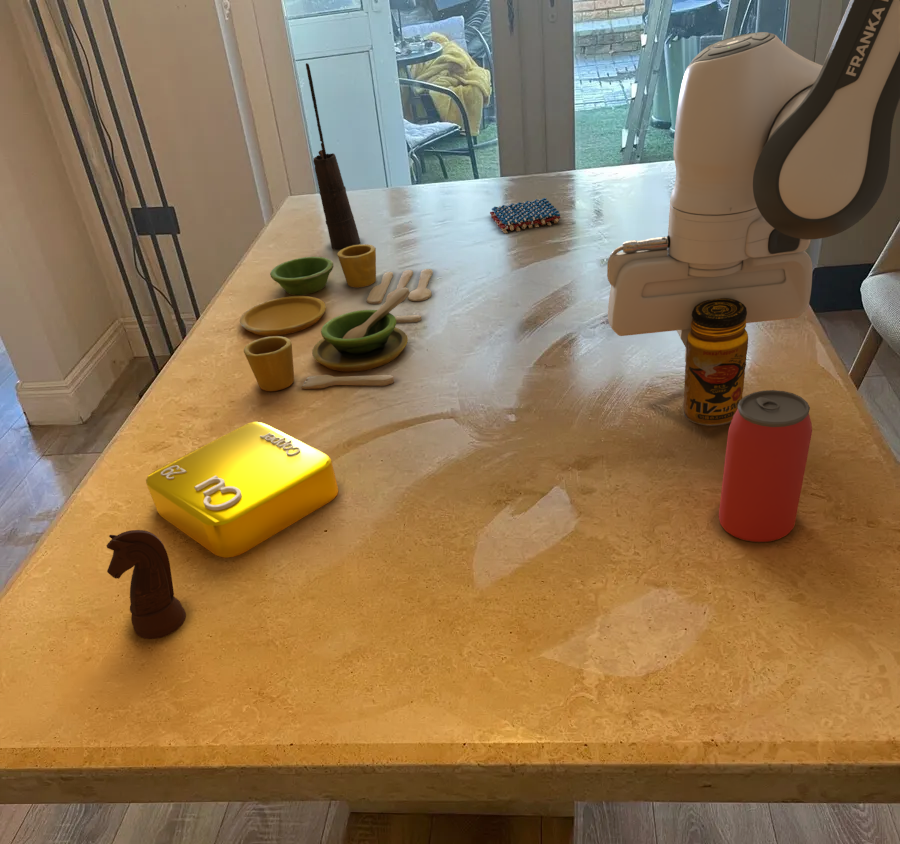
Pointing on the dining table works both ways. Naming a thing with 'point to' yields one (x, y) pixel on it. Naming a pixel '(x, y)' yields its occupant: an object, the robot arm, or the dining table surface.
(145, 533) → the chess piece
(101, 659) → the dining table surface
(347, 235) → the butter churn
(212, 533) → the element tile
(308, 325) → the tableware set
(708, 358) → the condiment
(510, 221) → the woven mat
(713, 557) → the dining table surface
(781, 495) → the beer can
